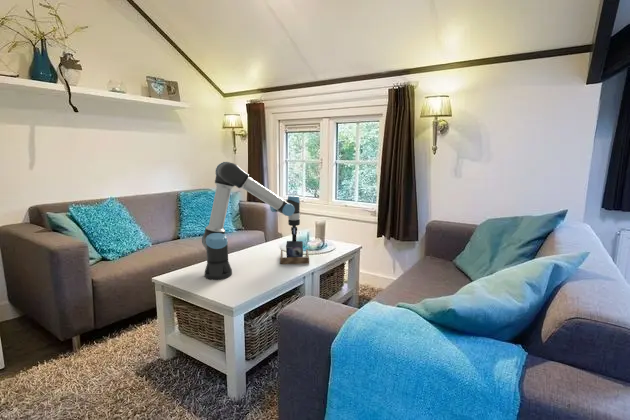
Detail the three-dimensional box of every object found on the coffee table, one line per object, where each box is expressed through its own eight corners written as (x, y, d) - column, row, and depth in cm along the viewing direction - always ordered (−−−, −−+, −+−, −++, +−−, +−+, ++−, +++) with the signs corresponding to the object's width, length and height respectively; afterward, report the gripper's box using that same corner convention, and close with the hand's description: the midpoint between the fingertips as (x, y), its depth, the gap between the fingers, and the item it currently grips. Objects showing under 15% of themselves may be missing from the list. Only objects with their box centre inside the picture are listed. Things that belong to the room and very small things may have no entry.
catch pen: (280, 264, 213) (280, 258, 213) (281, 255, 231) (281, 249, 230) (309, 263, 215) (309, 257, 214) (307, 254, 232) (307, 249, 231)
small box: (286, 259, 223) (285, 246, 218) (287, 253, 228) (286, 240, 223) (302, 259, 222) (302, 246, 217) (303, 253, 228) (302, 240, 223)
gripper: (300, 221, 219) (300, 256, 223) (299, 216, 231) (299, 250, 236) (288, 221, 218) (288, 256, 223) (288, 217, 231) (288, 250, 235)
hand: (294, 253), depth 229 cm, fingers closed
